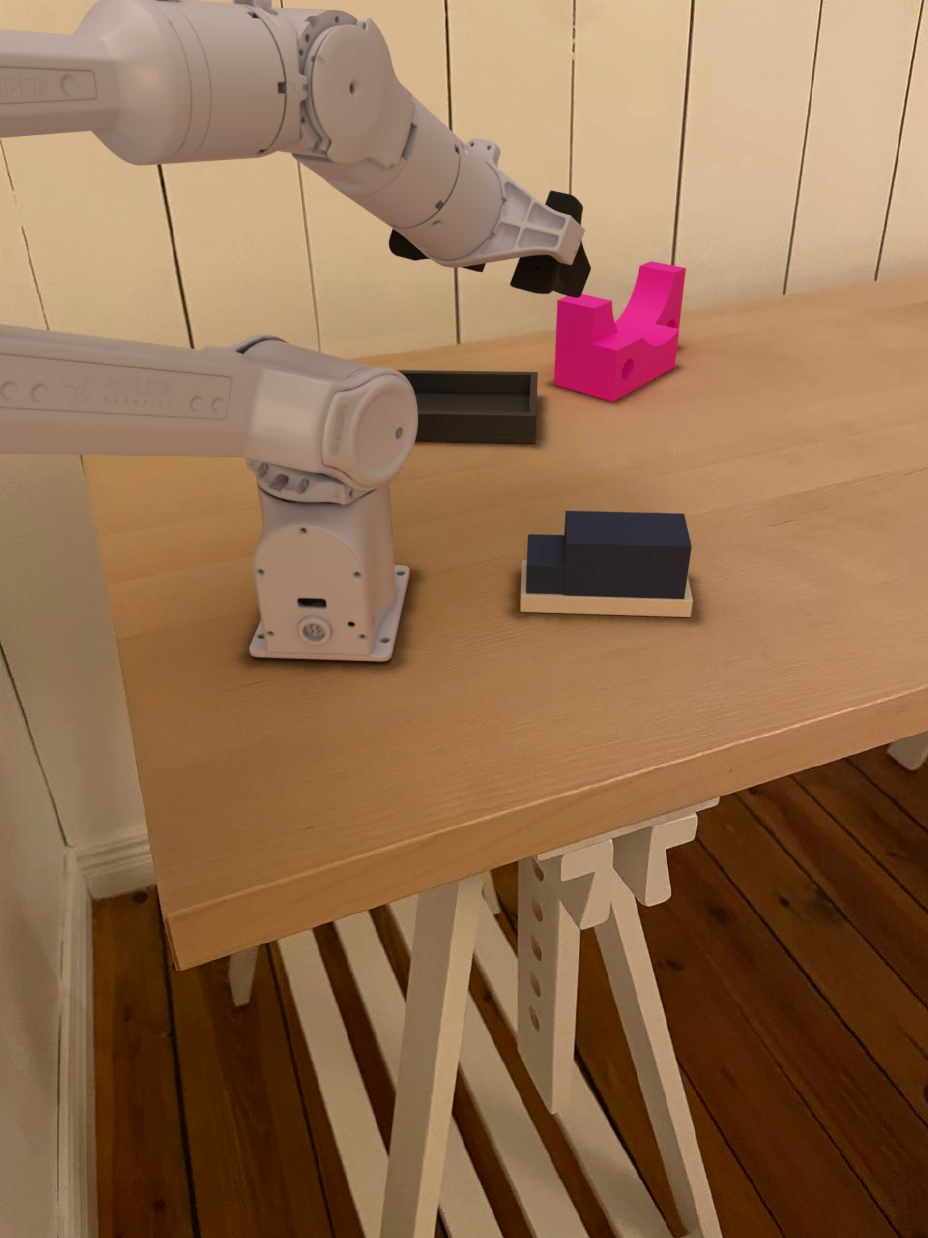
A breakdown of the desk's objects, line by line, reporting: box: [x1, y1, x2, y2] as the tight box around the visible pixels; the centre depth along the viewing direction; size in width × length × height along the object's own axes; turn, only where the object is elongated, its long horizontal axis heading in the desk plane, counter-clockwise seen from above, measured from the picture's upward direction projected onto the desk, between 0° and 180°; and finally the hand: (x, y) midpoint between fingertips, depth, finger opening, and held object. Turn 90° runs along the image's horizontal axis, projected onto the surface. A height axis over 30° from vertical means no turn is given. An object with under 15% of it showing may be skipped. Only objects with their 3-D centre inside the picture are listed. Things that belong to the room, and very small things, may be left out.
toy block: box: [553, 260, 687, 403], centre depth 88 cm, size 15×6×8 cm, turn 140°
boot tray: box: [396, 369, 539, 445], centre depth 80 cm, size 9×15×2 cm, turn 86°
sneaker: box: [519, 510, 694, 618], centre depth 58 cm, size 10×4×5 cm, turn 86°
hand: (531, 268), depth 63 cm, fingers open, 7 cm apart
